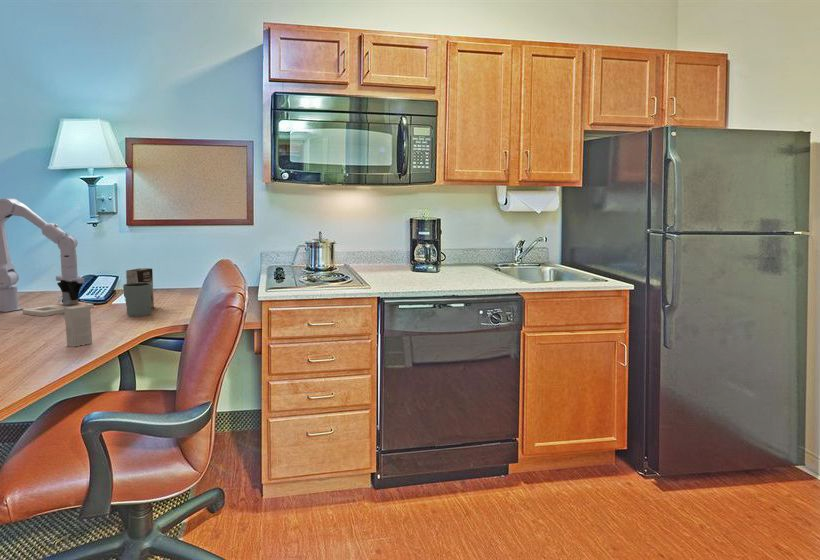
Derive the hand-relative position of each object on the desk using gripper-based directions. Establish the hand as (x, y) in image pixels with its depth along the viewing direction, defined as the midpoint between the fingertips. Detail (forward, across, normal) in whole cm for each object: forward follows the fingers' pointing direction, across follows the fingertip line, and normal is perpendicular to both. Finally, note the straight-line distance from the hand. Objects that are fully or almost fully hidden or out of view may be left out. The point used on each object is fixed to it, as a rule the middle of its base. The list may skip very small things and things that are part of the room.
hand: (71, 299), depth 263 cm
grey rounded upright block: (+4, -34, -4) cm, 34 cm away
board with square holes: (+4, 0, +6) cm, 7 cm away
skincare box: (+4, -58, +40) cm, 71 cm away
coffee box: (+4, -24, -14) cm, 28 cm away
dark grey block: (+3, 0, 0) cm, 3 cm away
